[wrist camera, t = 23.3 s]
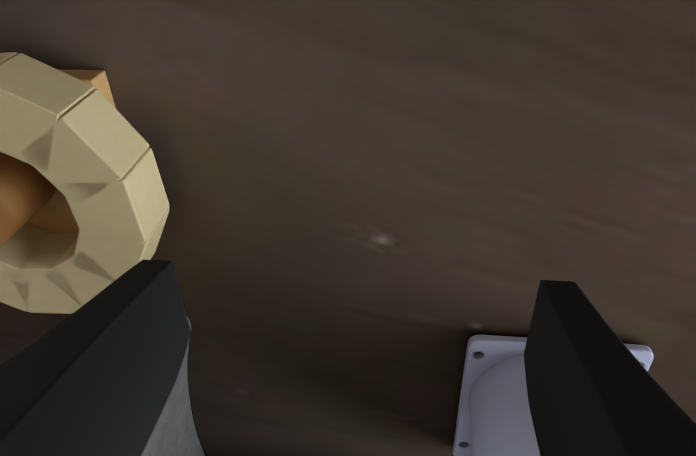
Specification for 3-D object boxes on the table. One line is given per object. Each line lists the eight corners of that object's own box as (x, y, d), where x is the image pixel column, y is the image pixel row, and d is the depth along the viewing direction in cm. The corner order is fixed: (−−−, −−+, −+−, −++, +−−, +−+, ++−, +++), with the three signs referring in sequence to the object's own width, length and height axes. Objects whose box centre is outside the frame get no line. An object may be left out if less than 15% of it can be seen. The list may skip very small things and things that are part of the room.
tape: (193, 277, 24) (172, 316, 22) (-15, 274, 25) (-51, 311, 24) (120, 46, 18) (84, 72, 16) (-143, 58, 20) (-205, 83, 18)
